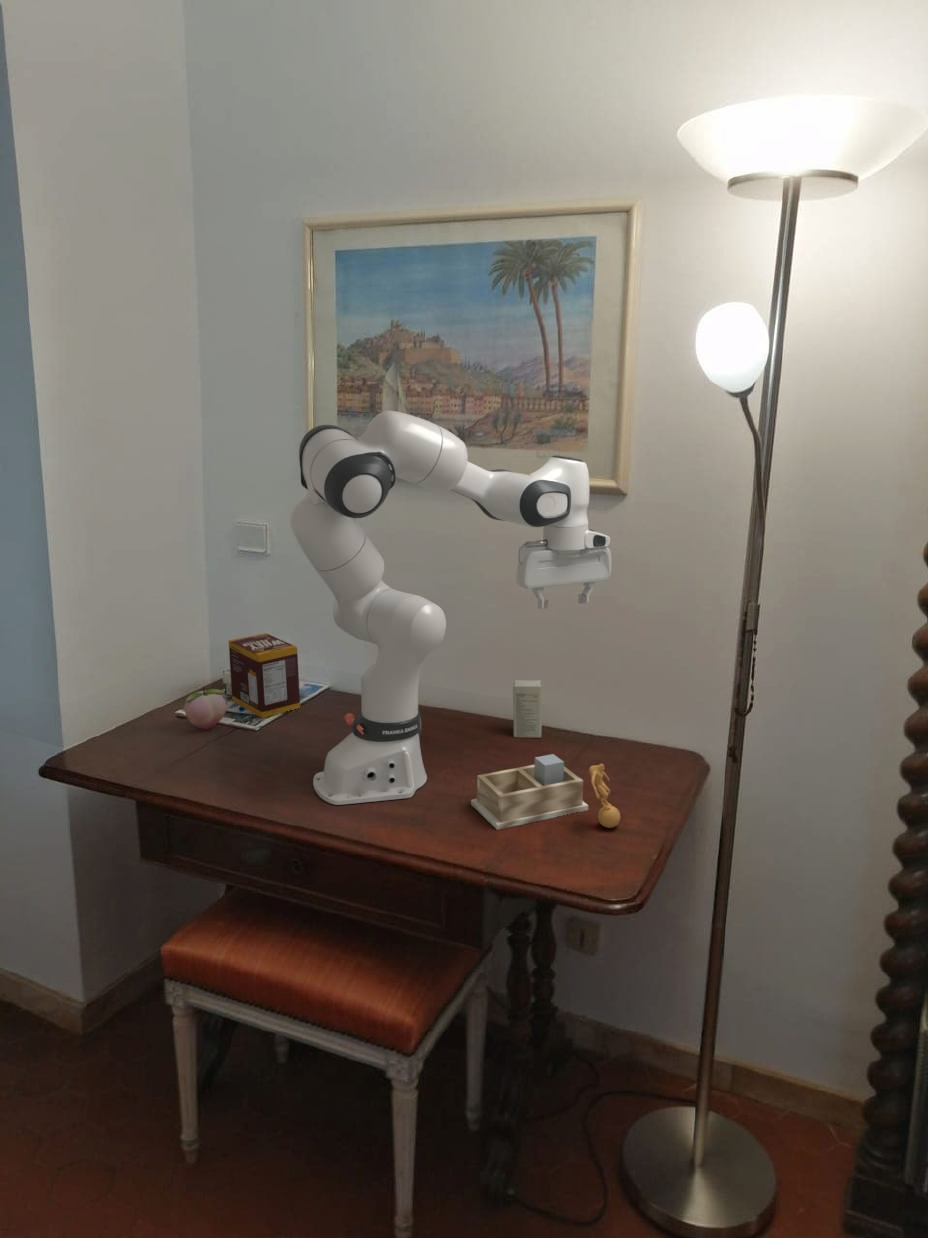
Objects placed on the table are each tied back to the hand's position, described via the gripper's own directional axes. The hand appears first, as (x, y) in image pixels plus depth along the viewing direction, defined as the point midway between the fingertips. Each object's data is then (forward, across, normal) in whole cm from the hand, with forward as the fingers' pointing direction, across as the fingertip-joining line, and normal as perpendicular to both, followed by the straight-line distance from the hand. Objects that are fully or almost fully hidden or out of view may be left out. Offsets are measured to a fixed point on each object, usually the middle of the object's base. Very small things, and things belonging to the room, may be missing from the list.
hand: (563, 605), depth 196 cm
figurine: (+33, -8, -30) cm, 45 cm away
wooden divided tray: (+33, -16, -18) cm, 41 cm away
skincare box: (+33, 0, +14) cm, 36 cm away
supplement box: (+33, -49, +56) cm, 82 cm away
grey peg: (+32, -13, -18) cm, 39 cm away
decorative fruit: (+33, -65, +46) cm, 86 cm away
